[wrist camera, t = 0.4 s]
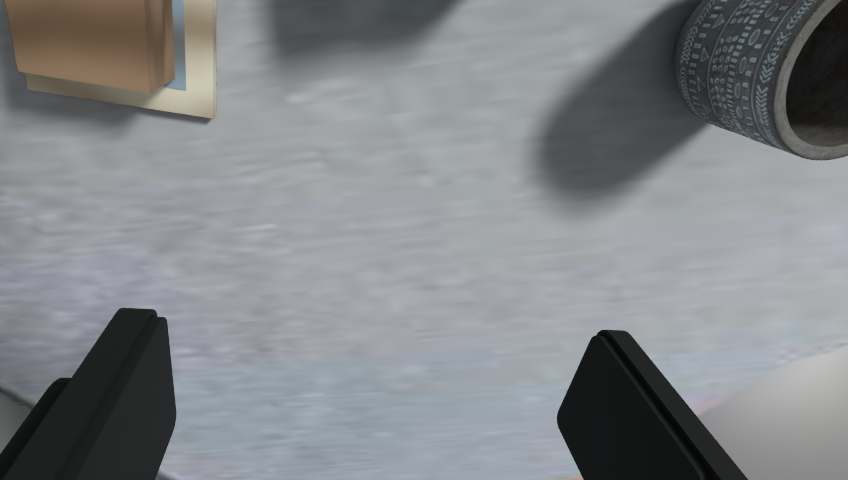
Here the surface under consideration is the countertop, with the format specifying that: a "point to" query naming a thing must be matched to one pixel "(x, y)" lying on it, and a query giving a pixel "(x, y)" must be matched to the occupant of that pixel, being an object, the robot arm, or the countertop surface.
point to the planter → (769, 72)
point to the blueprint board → (191, 63)
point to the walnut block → (95, 41)
